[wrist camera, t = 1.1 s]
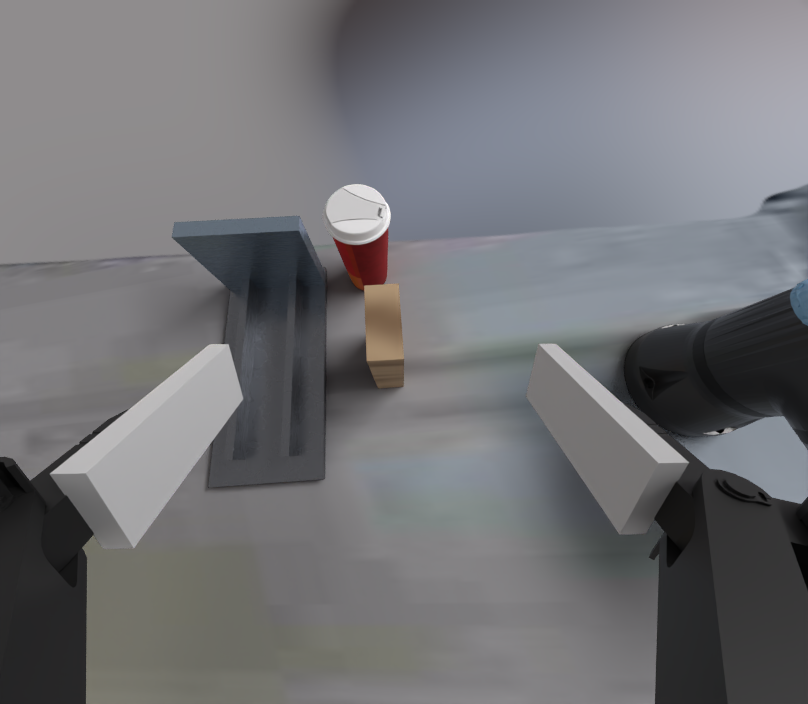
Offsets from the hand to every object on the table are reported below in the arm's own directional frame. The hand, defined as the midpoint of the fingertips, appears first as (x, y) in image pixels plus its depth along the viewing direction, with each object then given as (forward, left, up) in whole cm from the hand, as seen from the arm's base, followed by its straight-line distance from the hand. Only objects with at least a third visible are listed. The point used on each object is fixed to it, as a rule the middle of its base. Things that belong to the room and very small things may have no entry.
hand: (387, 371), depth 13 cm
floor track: (+18, +4, -29) cm, 34 cm away
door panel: (+6, -6, -29) cm, 30 cm away
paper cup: (+17, -15, -29) cm, 37 cm away
